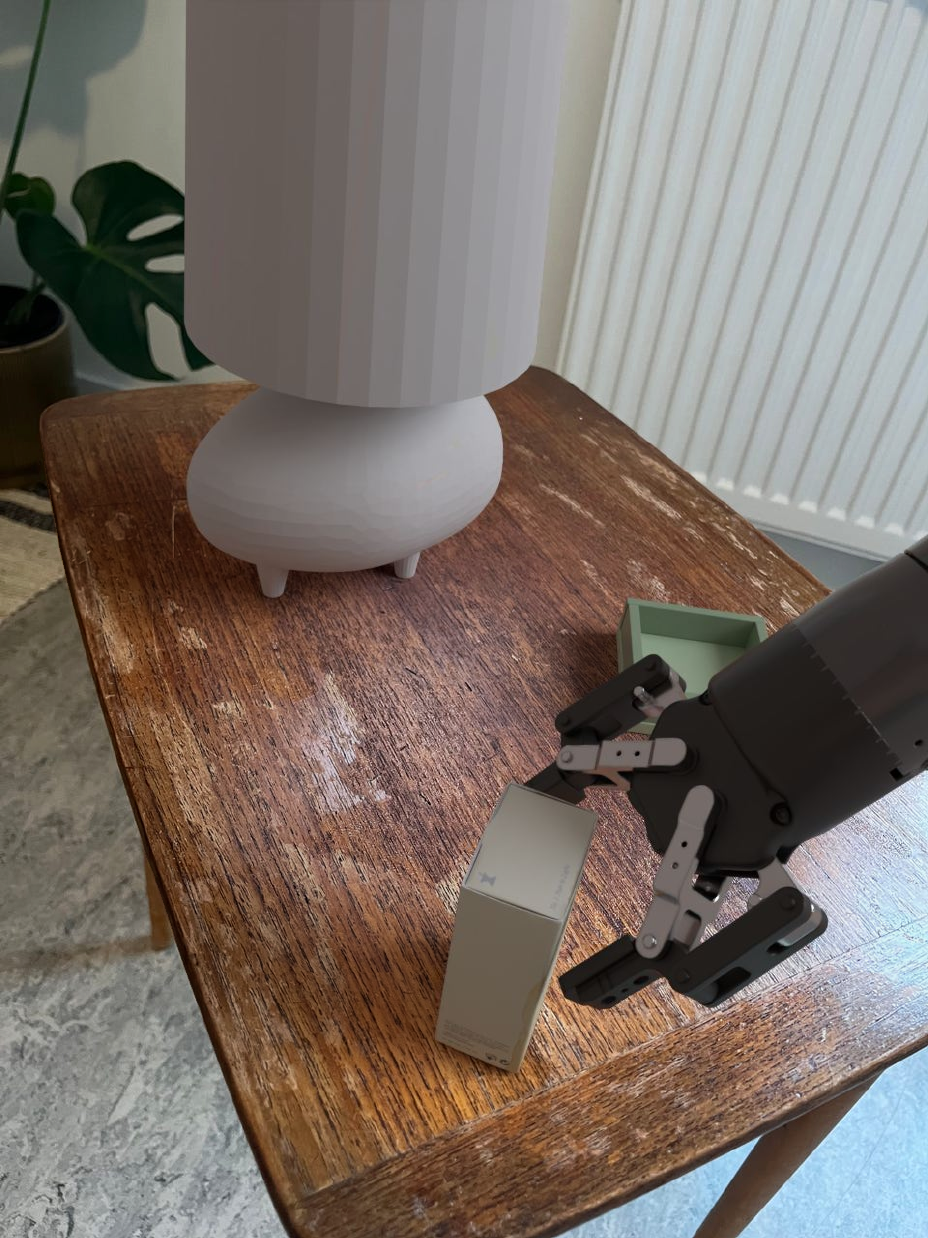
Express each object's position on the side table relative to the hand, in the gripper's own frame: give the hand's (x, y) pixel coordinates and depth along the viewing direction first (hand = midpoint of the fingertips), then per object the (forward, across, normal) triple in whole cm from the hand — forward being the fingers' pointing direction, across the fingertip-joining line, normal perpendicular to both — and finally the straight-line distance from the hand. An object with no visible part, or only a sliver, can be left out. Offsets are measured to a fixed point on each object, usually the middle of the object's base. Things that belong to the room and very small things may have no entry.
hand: (538, 904), depth 42 cm
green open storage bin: (-8, -19, +19) cm, 28 cm away
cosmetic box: (+6, 0, +5) cm, 8 cm away
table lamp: (+7, -35, +4) cm, 36 cm away
